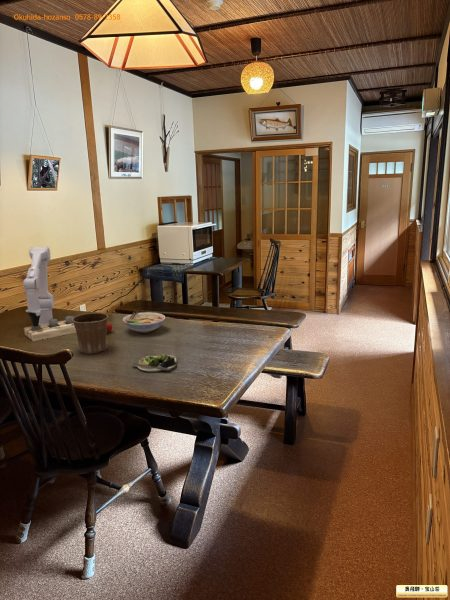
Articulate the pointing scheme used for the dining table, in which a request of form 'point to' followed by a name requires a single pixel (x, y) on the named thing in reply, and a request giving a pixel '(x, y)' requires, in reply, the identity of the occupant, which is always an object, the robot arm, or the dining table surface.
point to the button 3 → (69, 320)
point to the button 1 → (36, 328)
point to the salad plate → (156, 363)
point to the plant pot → (91, 332)
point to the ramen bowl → (144, 321)
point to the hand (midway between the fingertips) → (35, 326)
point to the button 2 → (53, 323)
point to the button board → (50, 331)
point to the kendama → (108, 327)
